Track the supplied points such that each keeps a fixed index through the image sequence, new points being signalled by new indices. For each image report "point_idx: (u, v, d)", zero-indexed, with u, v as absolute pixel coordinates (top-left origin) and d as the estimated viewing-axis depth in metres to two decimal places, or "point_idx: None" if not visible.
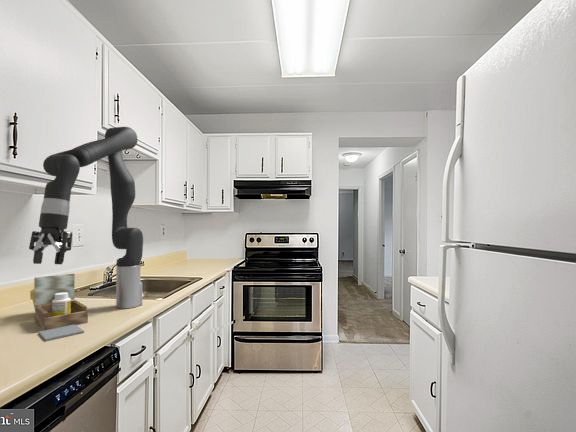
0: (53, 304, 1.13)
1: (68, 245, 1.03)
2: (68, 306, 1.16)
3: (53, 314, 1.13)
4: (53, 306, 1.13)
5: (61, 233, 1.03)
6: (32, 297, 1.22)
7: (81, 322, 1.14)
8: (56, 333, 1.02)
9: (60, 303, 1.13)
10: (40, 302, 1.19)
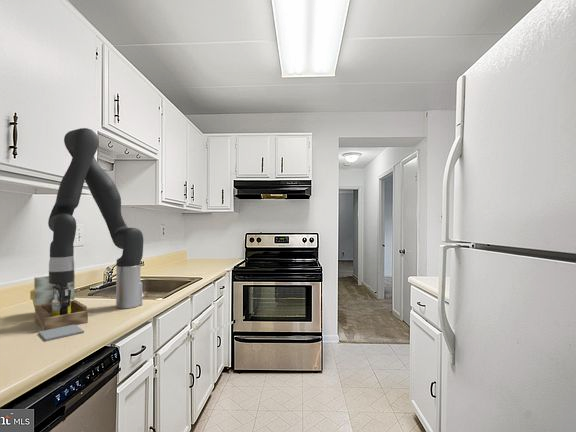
0: (53, 304, 1.13)
1: (68, 301, 1.13)
2: None
3: (53, 314, 1.13)
4: (53, 306, 1.13)
5: None
6: (32, 297, 1.22)
7: (81, 322, 1.14)
8: (56, 333, 1.02)
9: None
10: (40, 302, 1.19)
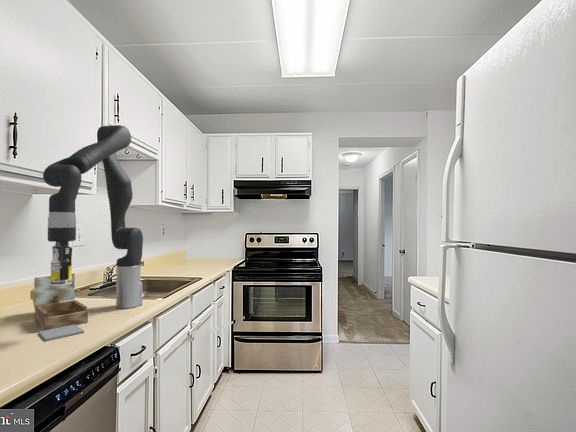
0: (52, 264, 1.02)
1: (69, 261, 1.01)
2: (69, 267, 1.04)
3: (52, 275, 1.02)
4: (52, 266, 1.02)
5: (63, 248, 1.01)
6: (32, 297, 1.22)
7: (81, 322, 1.14)
8: (56, 333, 1.02)
9: None
10: (40, 302, 1.19)
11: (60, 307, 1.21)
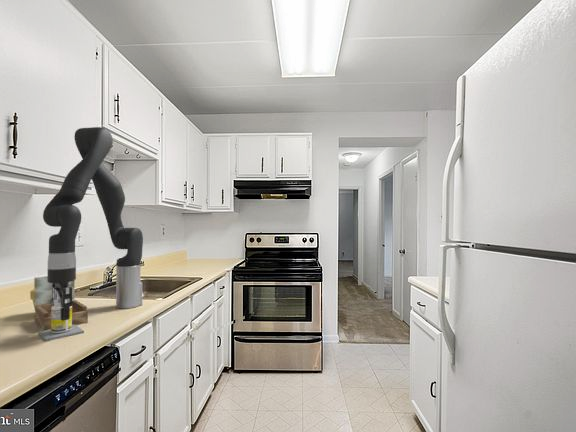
0: (53, 311, 1.02)
1: (69, 301, 1.00)
2: None
3: (52, 322, 1.02)
4: (53, 313, 1.02)
5: None
6: (32, 297, 1.22)
7: (81, 322, 1.14)
8: (56, 333, 1.02)
9: (60, 310, 1.02)
10: (40, 302, 1.19)
11: None
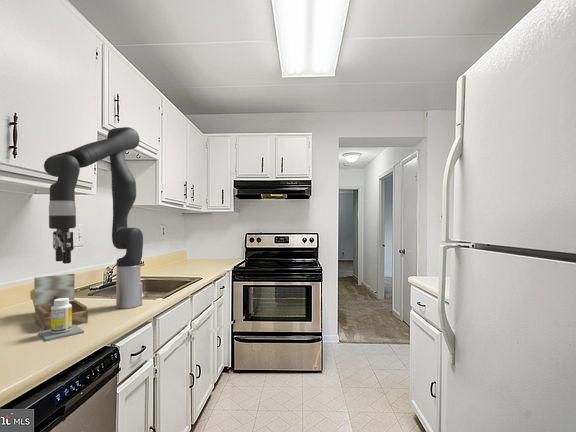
0: (52, 311, 1.02)
1: (71, 245, 1.06)
2: (69, 313, 1.04)
3: (52, 322, 1.02)
4: (52, 313, 1.02)
5: None
6: (32, 297, 1.22)
7: (81, 322, 1.14)
8: (56, 333, 1.02)
9: (60, 310, 1.02)
10: (40, 302, 1.19)
11: None
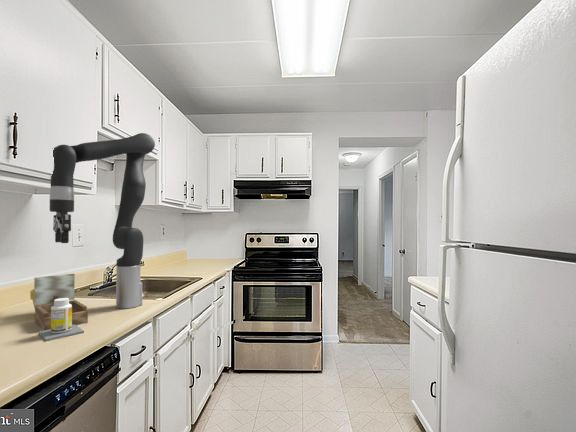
0: (52, 311, 1.02)
1: (68, 226, 1.17)
2: (69, 313, 1.04)
3: (52, 322, 1.02)
4: (52, 313, 1.02)
5: None
6: (32, 297, 1.22)
7: (81, 322, 1.14)
8: (56, 333, 1.02)
9: (60, 310, 1.02)
10: (40, 302, 1.19)
11: None
